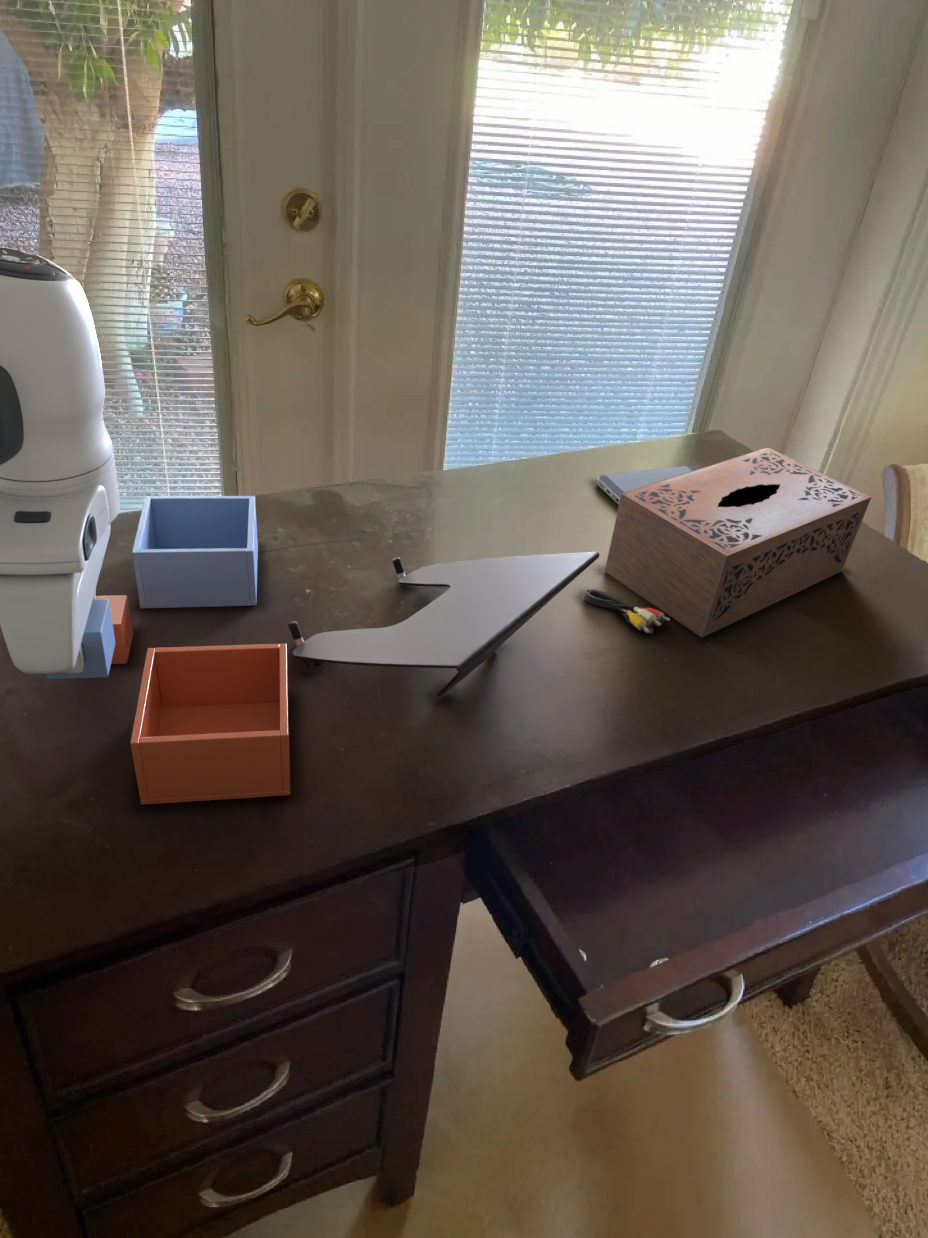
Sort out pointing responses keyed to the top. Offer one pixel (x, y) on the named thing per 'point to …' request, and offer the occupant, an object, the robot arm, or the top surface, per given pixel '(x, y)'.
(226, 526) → the slate bin
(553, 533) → the top surface
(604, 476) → the phone
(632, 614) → the composite cable
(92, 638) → the slate block
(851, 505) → the tissue box cover
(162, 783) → the terracotta bin
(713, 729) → the top surface
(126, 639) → the terracotta block
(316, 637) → the laptop stand
